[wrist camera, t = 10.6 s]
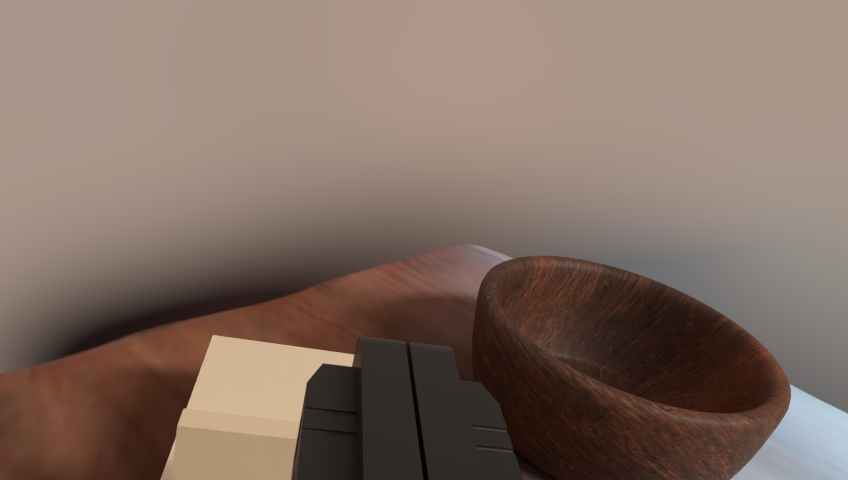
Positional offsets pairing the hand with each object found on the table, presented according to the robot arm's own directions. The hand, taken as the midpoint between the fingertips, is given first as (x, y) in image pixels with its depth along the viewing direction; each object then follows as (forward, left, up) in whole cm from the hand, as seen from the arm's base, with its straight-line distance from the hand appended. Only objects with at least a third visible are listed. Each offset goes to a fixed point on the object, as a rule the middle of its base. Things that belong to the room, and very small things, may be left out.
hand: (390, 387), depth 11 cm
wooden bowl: (-40, -18, -26) cm, 51 cm away
